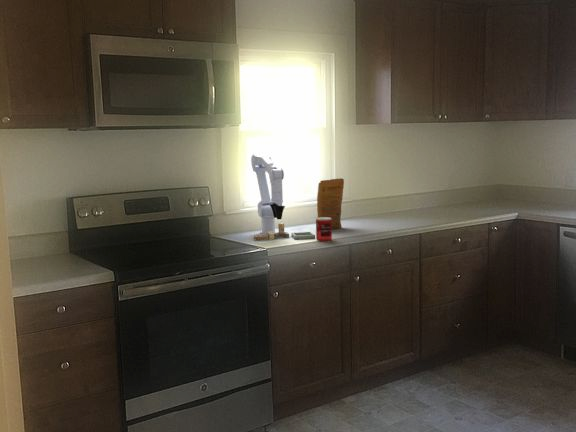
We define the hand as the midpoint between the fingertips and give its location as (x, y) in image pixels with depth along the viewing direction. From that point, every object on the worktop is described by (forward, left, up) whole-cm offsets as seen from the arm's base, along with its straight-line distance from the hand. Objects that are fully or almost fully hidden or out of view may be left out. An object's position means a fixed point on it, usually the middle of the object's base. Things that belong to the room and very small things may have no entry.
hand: (277, 218), depth 335 cm
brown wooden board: (+3, -10, -10) cm, 14 cm away
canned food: (+17, +21, -10) cm, 29 cm away
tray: (+5, +12, -10) cm, 16 cm away
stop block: (+3, -4, -10) cm, 11 cm away
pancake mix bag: (-21, +33, -10) cm, 40 cm away
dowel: (0, +2, -10) cm, 10 cm away
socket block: (0, +2, -10) cm, 10 cm away
